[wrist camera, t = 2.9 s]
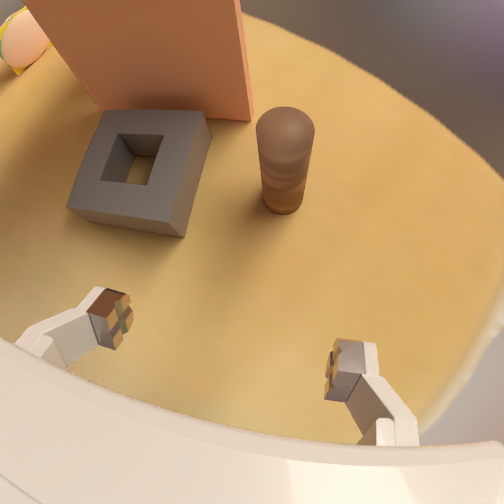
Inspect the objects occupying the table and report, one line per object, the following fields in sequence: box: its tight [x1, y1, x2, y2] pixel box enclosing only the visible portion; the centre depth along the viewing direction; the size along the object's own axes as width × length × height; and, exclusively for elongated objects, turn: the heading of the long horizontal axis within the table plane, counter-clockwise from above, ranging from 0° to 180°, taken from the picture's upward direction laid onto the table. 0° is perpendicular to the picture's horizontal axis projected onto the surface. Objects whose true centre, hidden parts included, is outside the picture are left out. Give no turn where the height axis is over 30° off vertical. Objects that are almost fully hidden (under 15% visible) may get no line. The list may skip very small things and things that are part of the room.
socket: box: [66, 110, 212, 238], centre depth 32 cm, size 12×12×5 cm
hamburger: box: [0, 6, 52, 76], centre depth 38 cm, size 12×8×12 cm
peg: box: [256, 107, 315, 215], centre depth 27 cm, size 4×4×12 cm
